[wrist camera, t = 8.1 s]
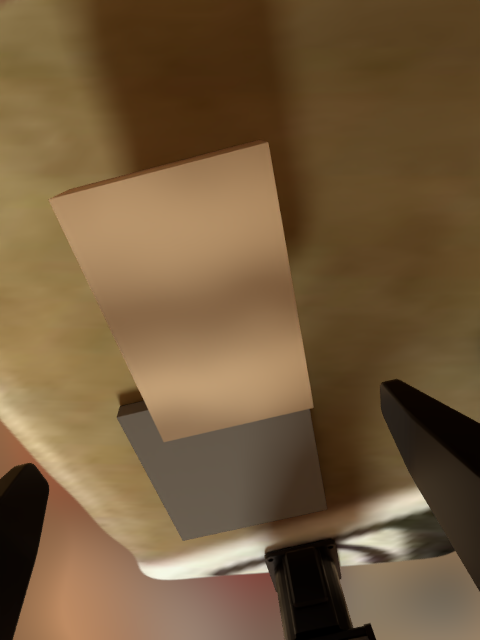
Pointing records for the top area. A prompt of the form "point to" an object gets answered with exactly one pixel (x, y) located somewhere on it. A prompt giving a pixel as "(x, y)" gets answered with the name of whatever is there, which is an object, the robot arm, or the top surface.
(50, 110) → the top surface
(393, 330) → the top surface
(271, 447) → the rubber mat
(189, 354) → the birch board
